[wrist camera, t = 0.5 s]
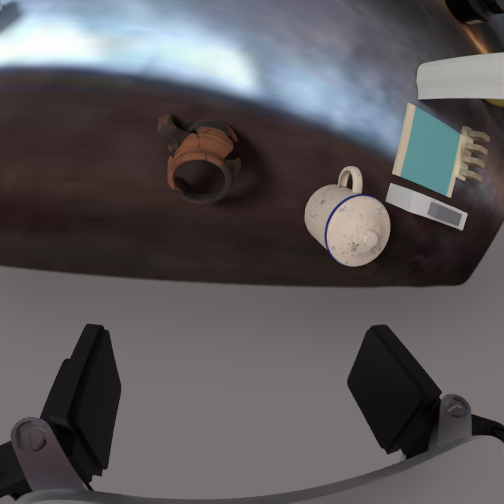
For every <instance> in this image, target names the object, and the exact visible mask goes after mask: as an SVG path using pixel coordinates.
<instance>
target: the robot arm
mask: <svg viewBox="0 0 504 504" xmlns="http://www.w3.org/2000/svg"><path fill="white" fill-rule="evenodd" d="M347 384H348V387H349V389H350V391H351V393H352V395H353V397H354V398H355V400H356V402H357V404H358V406H359V408H360V409H361V411H362V413H363V415H364V417H365V419H366V421H367V423H368V424H369V426H370V428H371V430H372V432H373V434H374V436H375V438H376V440H377V441H378V443H379V445H380V447H381V448H383V449H385V451H386V453H387V454H390V453H393V452H396V451H398V450H399V449H401V450H402V456H401V460H400V462H399V463H397V464H394V465H391V466H388V467H385V468H383V469H380V470H377V471H374V472H371V473H367V474H364V475H361V476H358V477H354V478H351V479H347V480H343V481H339V482H336V483H331V484H327V485H323V486H319V487H314V488H309V489H304V490H298V491H293V492H287V493H281V494H273V495H265V496H256V497H246V498H231V499H166V498H149V497H139V496H130V495H121V494H114V493H105V492H98V491H95V490H94V489H93V487H92V486H91V484H90V483H89V482H91V481H92V476H93V475H97V476H102V471H103V469H105V470H106V469H107V468H108V463H109V456H110V449H111V442H112V437H113V431H114V426H115V419H116V415H117V410H118V405H119V400H120V395H121V383H120V379H119V375H118V371H117V367H116V362H115V358H114V354H113V349H112V344H111V339H110V334H109V331H108V330H104V327H103V326H102V325H95V324H86V326H85V328H84V330H83V332H82V334H81V336H80V338H79V340H78V342H77V344H76V347H75V349H74V351H73V354H72V355H71V358H70V359H65V360H64V361H63V363H62V365H61V367H60V370H59V372H58V374H57V376H56V379H55V381H54V384H53V386H52V388H51V391H50V393H49V395H48V398H47V401H46V403H45V406H44V408H43V411H42V413H41V416H40V418H37V417H27V418H23V419H21V420H19V421H18V422H17V423H16V424H15V425H14V426H13V428H12V431H11V441H9V442H7V443H5V444H2V445H0V504H504V426H503V425H502V424H500V423H498V422H496V421H492V420H489V419H486V418H482V417H479V416H476V415H473V414H471V407H470V406H469V403H468V402H467V401H466V400H465V399H464V398H462V397H461V396H459V395H456V394H447V395H446V396H444V397H443V398H442V399H440V398H439V396H440V395H441V393H442V391H441V390H440V389H439V388H438V386H437V385H436V384H435V383H434V381H433V380H432V379H431V378H430V377H429V375H428V374H427V373H426V371H425V370H424V369H423V368H422V366H421V365H420V364H419V363H418V362H417V360H416V359H415V358H414V357H413V356H412V354H411V353H410V352H409V351H408V349H407V348H406V347H405V346H404V345H403V344H402V342H401V341H400V340H399V339H398V338H397V336H396V335H395V334H394V333H393V332H392V331H391V329H390V328H389V327H388V326H387V325H374V326H371V328H370V329H369V330H367V332H366V334H365V337H364V339H363V342H362V345H361V347H360V350H359V352H358V355H357V358H356V360H355V362H354V365H353V367H352V369H351V372H350V374H349V377H348V380H347Z"/></svg>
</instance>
